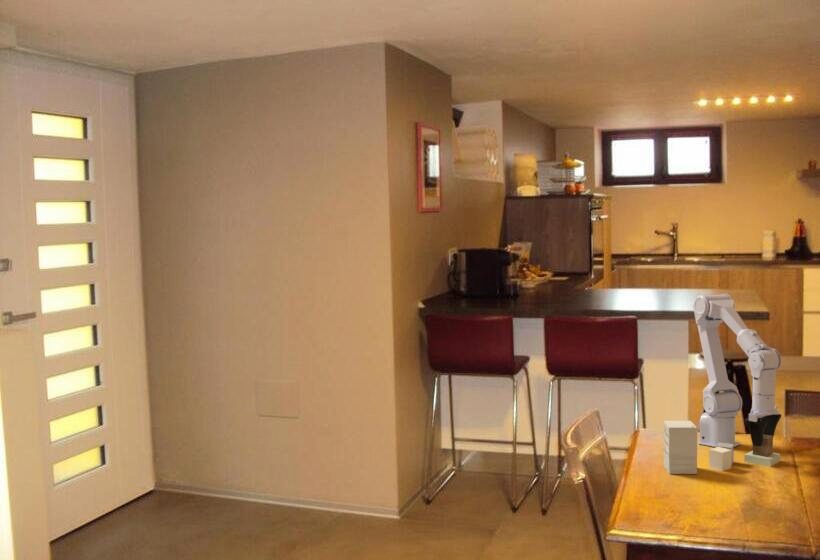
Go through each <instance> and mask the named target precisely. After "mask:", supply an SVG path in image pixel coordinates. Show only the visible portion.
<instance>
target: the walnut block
mask: <svg viewBox="0 0 820 560" xmlns="http://www.w3.org/2000/svg"><path fill="white" fill-rule="evenodd" d="M773 444H774V436H772V435H765V434H763V441H762V445H761V446H755V445H753V444H752V450H753V455H759V456H765V457H768V456H770V455H772V454H773V453H774V445H773Z"/></svg>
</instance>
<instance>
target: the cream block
mask: <svg viewBox="0 0 820 560" xmlns="http://www.w3.org/2000/svg"><path fill="white" fill-rule="evenodd" d="M708 451H709V452H708V455H709V456H708V457H709V458H708V459H709V461H708V468H710V469H713V470H717V471H720V472H725V471H726V470H730V469H732V465H731V453H732V450H730V449H725V448H721V447H713V448H709V450H708Z"/></svg>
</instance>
